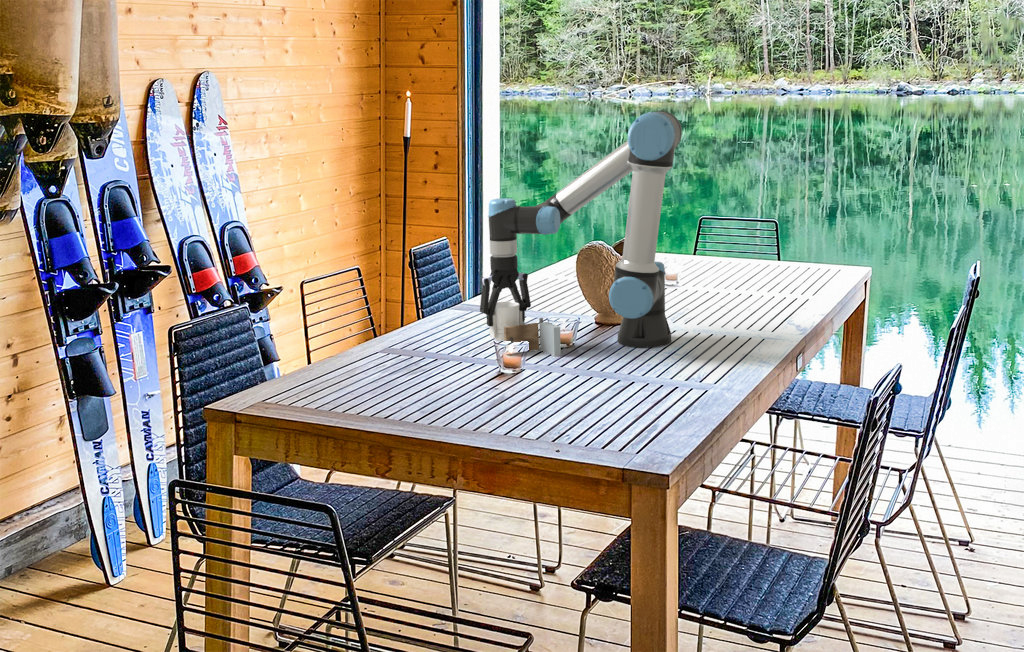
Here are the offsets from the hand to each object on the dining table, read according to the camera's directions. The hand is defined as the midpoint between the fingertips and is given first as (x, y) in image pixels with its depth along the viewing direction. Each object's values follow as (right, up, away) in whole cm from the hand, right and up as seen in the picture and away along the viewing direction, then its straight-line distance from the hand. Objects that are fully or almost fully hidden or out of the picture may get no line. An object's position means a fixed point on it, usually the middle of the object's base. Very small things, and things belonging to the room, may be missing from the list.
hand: (506, 335), depth 312 cm
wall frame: (+7, -3, +2) cm, 8 cm away
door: (+5, -5, -6) cm, 9 cm away
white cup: (0, -1, 0) cm, 1 cm away
